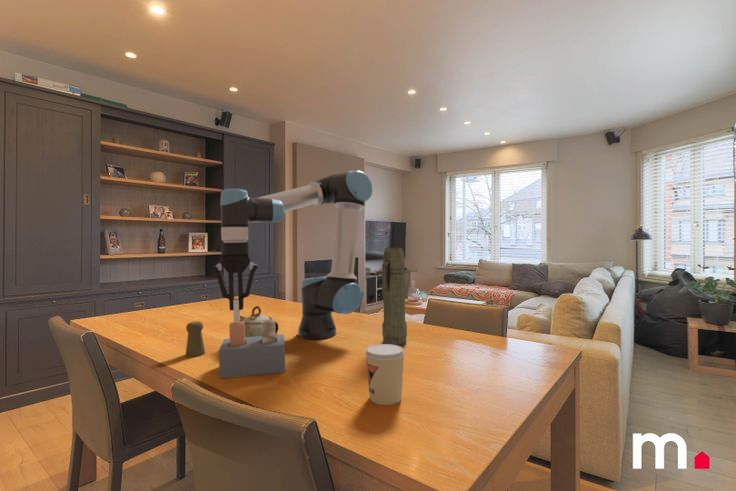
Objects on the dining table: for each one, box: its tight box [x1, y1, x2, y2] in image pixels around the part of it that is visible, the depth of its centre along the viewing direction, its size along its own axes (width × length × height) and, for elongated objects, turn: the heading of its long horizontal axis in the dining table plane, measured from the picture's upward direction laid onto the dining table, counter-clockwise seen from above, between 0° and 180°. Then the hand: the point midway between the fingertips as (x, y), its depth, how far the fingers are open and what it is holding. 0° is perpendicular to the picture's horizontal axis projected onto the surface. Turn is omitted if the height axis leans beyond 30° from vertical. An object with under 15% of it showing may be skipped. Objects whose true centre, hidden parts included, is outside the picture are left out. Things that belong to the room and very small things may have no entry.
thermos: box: [381, 246, 408, 347], centre depth 138 cm, size 9×12×35 cm
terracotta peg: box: [228, 321, 245, 346], centre depth 112 cm, size 4×4×8 cm
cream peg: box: [261, 318, 276, 343], centre depth 114 cm, size 4×4×8 cm
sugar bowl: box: [239, 305, 279, 337], centre depth 133 cm, size 20×15×15 cm
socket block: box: [218, 334, 286, 380], centre depth 113 cm, size 18×12×8 cm, turn 104°
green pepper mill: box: [185, 321, 206, 358], centre depth 128 cm, size 6×6×11 cm
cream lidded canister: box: [365, 343, 405, 406], centre depth 91 cm, size 9×9×12 cm
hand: (236, 320), depth 112 cm, fingers closed
